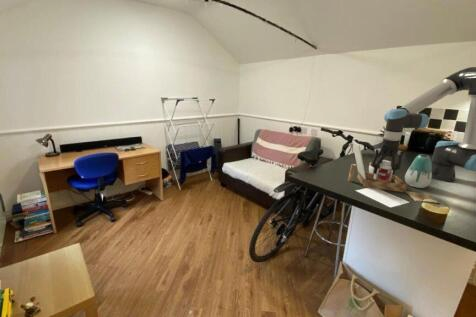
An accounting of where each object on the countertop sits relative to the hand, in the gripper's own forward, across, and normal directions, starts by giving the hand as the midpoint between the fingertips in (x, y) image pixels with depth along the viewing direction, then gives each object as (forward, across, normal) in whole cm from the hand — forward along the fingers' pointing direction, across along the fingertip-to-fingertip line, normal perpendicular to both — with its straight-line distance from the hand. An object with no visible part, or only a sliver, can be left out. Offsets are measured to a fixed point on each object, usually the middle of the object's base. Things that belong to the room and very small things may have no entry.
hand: (381, 179), depth 126 cm
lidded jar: (+3, -2, -14) cm, 14 cm away
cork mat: (+3, -14, +12) cm, 19 cm away
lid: (-11, +13, 0) cm, 17 cm away
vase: (+4, -20, -5) cm, 20 cm away
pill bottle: (+1, 0, 0) cm, 1 cm away
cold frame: (+3, +4, 0) cm, 5 cm away
